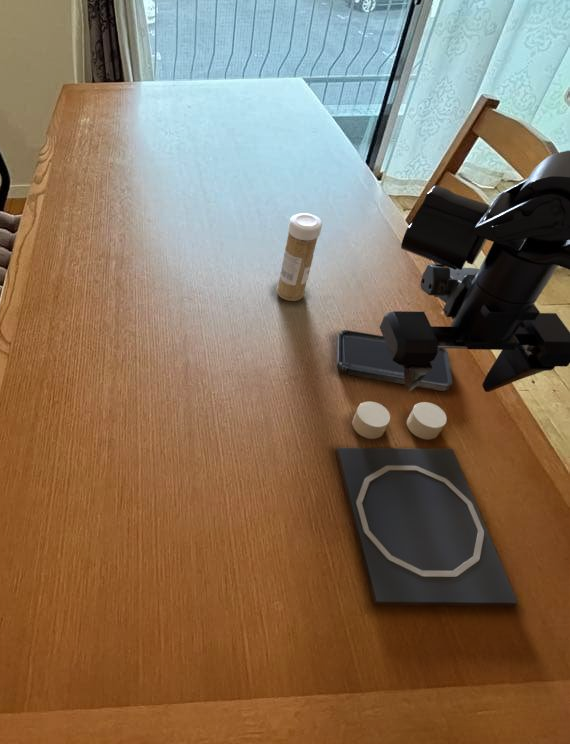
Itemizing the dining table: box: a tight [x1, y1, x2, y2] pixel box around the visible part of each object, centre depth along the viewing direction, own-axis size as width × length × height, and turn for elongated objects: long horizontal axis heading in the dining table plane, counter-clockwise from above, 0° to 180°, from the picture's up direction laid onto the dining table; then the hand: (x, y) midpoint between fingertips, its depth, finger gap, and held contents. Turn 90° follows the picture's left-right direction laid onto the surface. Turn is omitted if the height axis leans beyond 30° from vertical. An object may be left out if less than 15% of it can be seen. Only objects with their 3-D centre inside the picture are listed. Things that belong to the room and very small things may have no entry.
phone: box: [336, 329, 453, 392], centre depth 78 cm, size 8×1×15 cm
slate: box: [335, 447, 519, 608], centre depth 61 cm, size 14×18×1 cm
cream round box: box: [351, 401, 391, 440], centre depth 70 cm, size 4×4×2 cm
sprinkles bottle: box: [275, 212, 323, 302], centre depth 84 cm, size 5×5×14 cm
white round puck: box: [406, 401, 448, 440], centre depth 70 cm, size 4×4×2 cm
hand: (446, 388), depth 65 cm, fingers open, 9 cm apart
